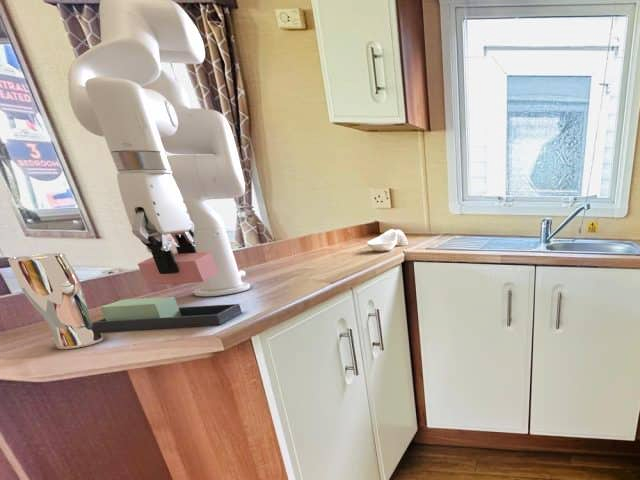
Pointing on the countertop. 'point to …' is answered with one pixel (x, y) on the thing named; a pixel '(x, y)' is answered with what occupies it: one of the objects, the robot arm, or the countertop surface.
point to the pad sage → (141, 309)
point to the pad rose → (181, 269)
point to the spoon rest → (387, 240)
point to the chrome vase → (56, 298)
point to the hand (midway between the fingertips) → (181, 269)
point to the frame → (175, 319)
